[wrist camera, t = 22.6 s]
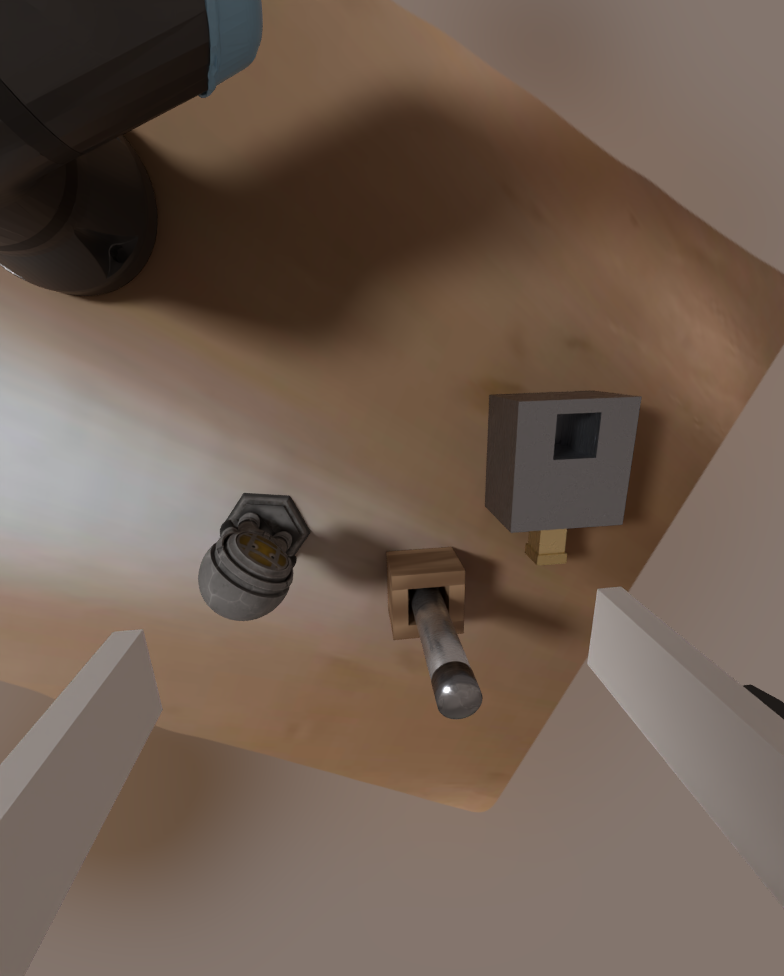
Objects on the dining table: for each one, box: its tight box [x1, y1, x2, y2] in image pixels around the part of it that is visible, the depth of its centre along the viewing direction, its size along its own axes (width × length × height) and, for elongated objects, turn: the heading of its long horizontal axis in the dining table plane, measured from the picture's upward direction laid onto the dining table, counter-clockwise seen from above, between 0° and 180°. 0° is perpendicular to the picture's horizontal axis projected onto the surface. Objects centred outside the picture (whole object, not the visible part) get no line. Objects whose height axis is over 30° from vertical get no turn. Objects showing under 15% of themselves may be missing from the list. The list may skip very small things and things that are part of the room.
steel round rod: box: [408, 587, 482, 719], centre depth 42 cm, size 4×4×18 cm
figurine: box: [198, 493, 310, 621], centre depth 40 cm, size 9×10×15 cm
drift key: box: [525, 529, 567, 565], centre depth 46 cm, size 3×9×3 cm, turn 2°
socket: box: [485, 391, 641, 533], centre depth 44 cm, size 12×13×8 cm
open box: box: [386, 547, 465, 640], centre depth 48 cm, size 8×8×6 cm
